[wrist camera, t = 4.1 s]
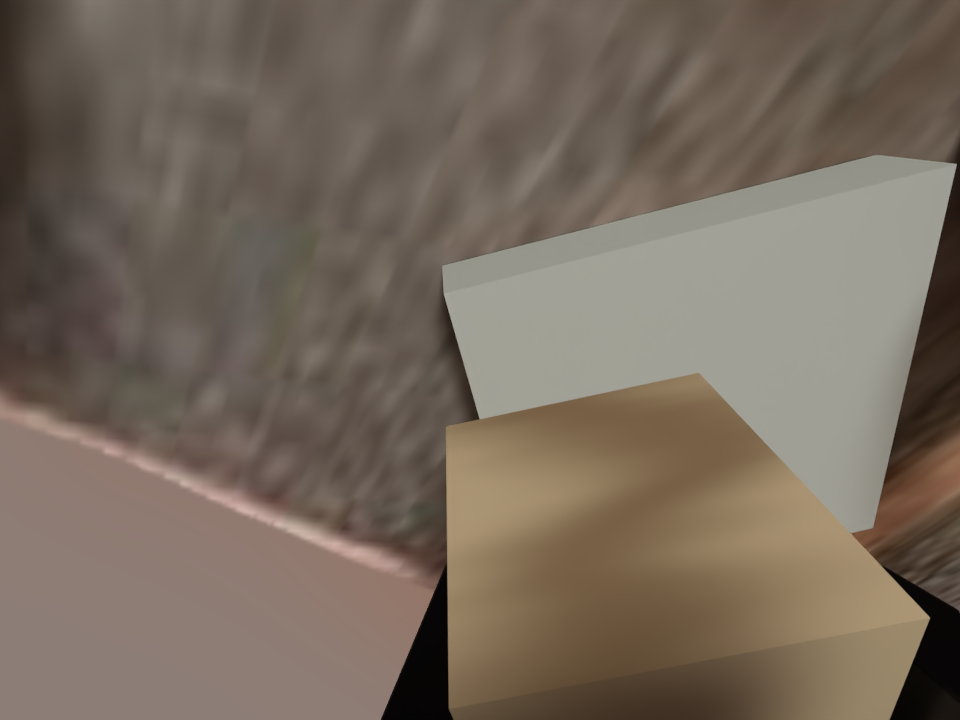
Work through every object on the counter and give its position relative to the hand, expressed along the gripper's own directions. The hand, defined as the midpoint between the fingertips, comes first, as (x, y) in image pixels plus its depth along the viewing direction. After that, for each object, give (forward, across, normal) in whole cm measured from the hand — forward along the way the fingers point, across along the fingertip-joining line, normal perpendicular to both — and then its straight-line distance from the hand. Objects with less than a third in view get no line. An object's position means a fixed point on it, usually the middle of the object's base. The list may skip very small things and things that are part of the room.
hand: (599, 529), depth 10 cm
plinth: (+11, -6, +5) cm, 13 cm away
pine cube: (+1, 0, 0) cm, 1 cm away
